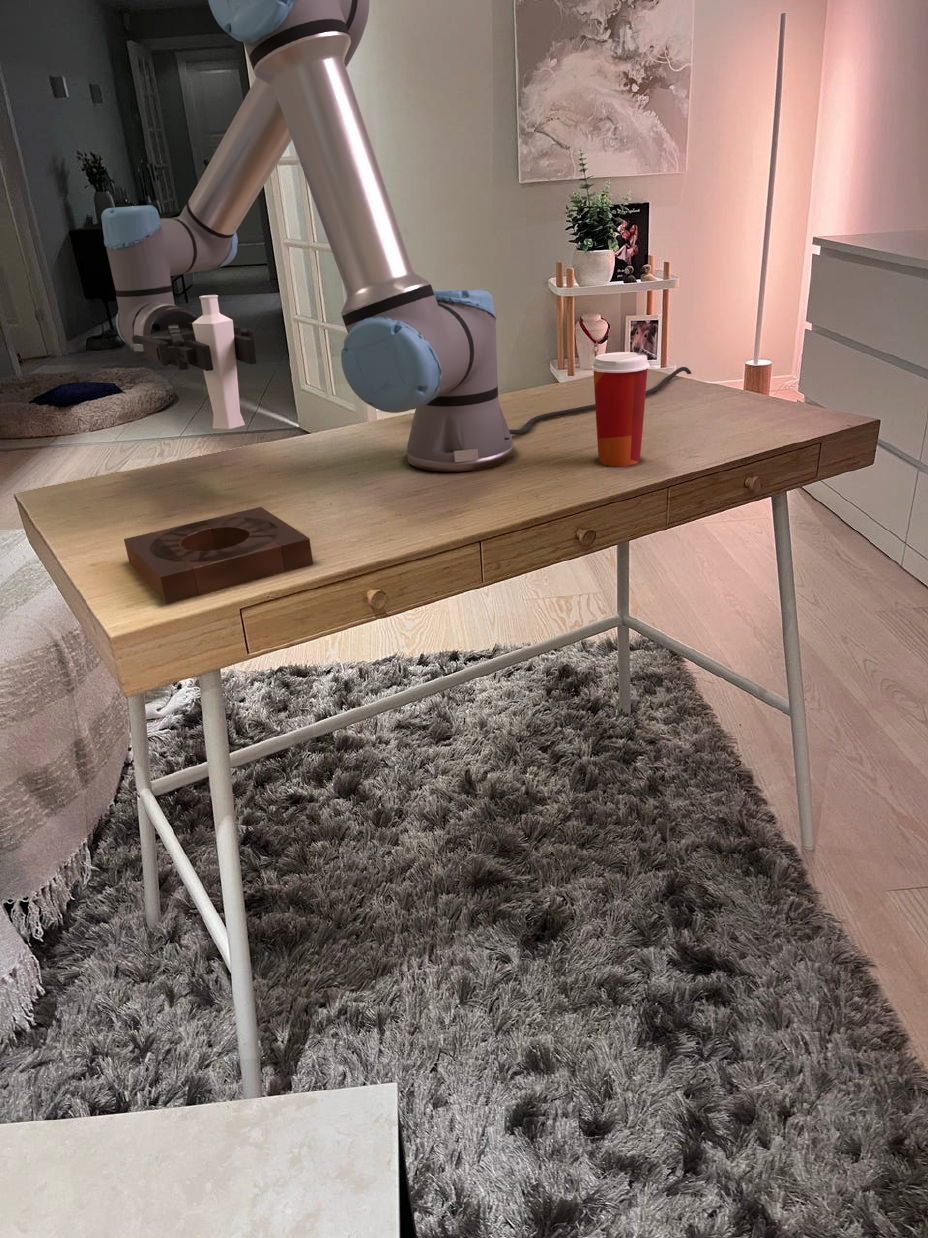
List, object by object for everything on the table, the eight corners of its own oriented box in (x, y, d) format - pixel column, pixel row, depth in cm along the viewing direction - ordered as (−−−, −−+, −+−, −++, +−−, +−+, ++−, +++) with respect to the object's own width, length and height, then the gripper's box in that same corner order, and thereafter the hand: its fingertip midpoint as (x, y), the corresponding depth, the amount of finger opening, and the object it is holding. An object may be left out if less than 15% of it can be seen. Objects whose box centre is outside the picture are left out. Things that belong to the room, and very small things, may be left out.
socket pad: (264, 530, 112) (260, 506, 110) (313, 564, 101) (309, 538, 99) (129, 564, 104) (123, 538, 103) (166, 604, 93) (160, 576, 92)
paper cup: (628, 449, 133) (630, 348, 127) (658, 462, 127) (661, 356, 121) (580, 458, 131) (579, 355, 125) (608, 472, 124) (609, 364, 118)
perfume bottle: (232, 419, 117) (212, 292, 111) (254, 423, 114) (235, 294, 108) (201, 427, 114) (179, 297, 108) (223, 431, 111) (202, 298, 105)
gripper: (238, 353, 130) (305, 376, 112) (110, 373, 122) (160, 401, 104) (229, 297, 127) (297, 310, 109) (96, 313, 119) (146, 330, 100)
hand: (230, 354), depth 106 cm, fingers closed on perfume bottle, 4 cm apart
